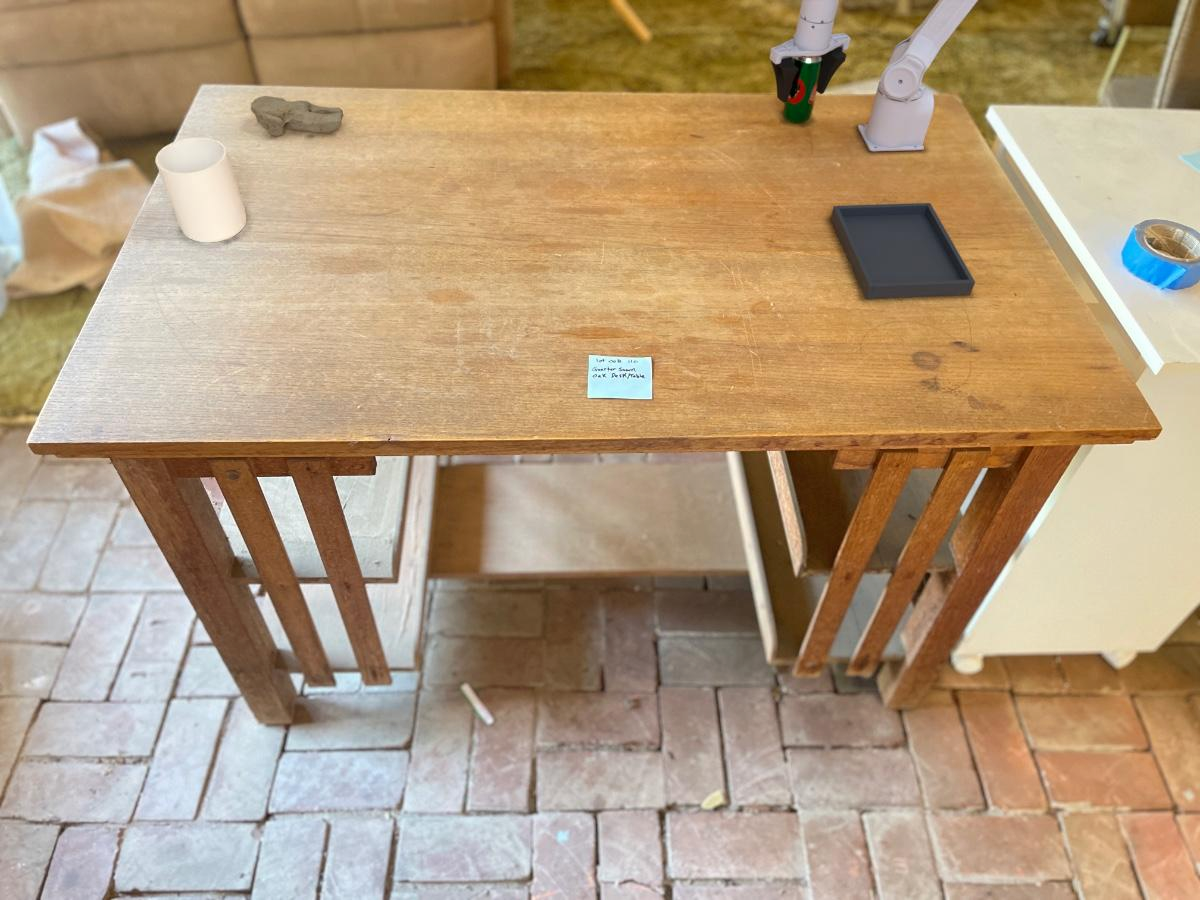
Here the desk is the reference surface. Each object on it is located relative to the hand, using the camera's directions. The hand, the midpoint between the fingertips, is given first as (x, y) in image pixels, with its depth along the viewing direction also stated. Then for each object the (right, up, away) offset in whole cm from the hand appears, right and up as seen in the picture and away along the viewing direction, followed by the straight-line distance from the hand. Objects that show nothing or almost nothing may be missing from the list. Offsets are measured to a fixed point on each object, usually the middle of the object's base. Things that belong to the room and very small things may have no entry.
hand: (800, 95), depth 159 cm
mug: (-92, -27, -21) cm, 98 cm away
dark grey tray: (+10, -32, -22) cm, 40 cm away
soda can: (0, -3, +3) cm, 4 cm away
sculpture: (-85, -7, -3) cm, 85 cm away
